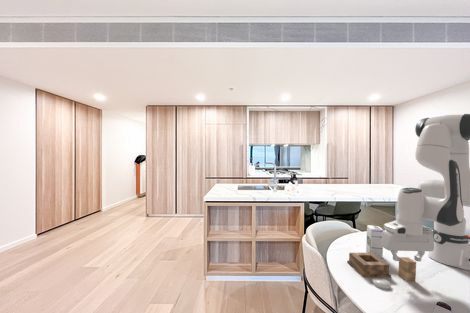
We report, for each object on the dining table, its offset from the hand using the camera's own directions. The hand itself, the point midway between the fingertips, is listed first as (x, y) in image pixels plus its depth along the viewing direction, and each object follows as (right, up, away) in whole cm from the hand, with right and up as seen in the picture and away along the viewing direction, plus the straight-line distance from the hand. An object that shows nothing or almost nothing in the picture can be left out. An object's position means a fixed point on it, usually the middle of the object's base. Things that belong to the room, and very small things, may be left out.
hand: (406, 260), depth 92 cm
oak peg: (0, -8, +1) cm, 8 cm away
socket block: (-12, -7, +7) cm, 16 cm away
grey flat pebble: (-13, -8, -4) cm, 16 cm away
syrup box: (-1, -7, +21) cm, 22 cm away
